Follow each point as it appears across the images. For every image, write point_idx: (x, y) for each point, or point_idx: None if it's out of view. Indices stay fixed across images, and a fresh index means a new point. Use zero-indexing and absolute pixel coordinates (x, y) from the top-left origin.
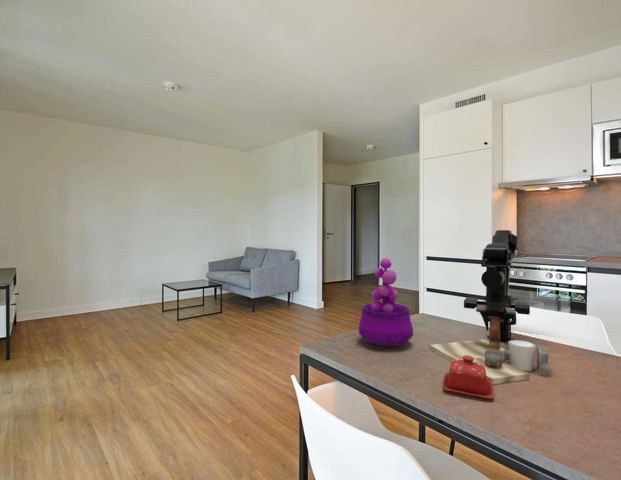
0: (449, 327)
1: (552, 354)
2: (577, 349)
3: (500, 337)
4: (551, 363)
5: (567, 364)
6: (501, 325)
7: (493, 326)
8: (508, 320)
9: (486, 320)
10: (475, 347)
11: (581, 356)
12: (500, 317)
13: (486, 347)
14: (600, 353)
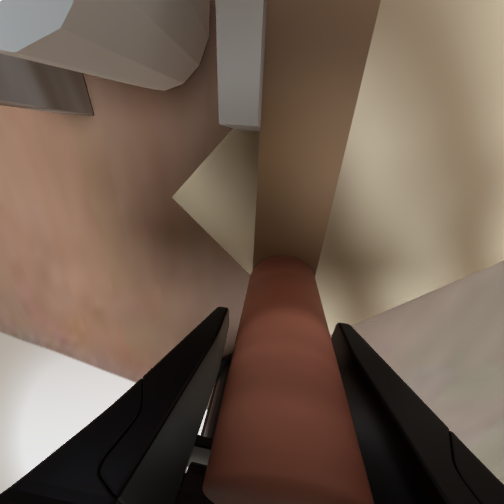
0: None
1: (87, 284)
2: (52, 343)
3: None
4: (56, 176)
5: (12, 192)
6: None
7: (305, 339)
8: (78, 434)
9: (421, 440)
10: (404, 196)
11: (21, 294)
12: None
13: (329, 224)
14: (2, 330)
